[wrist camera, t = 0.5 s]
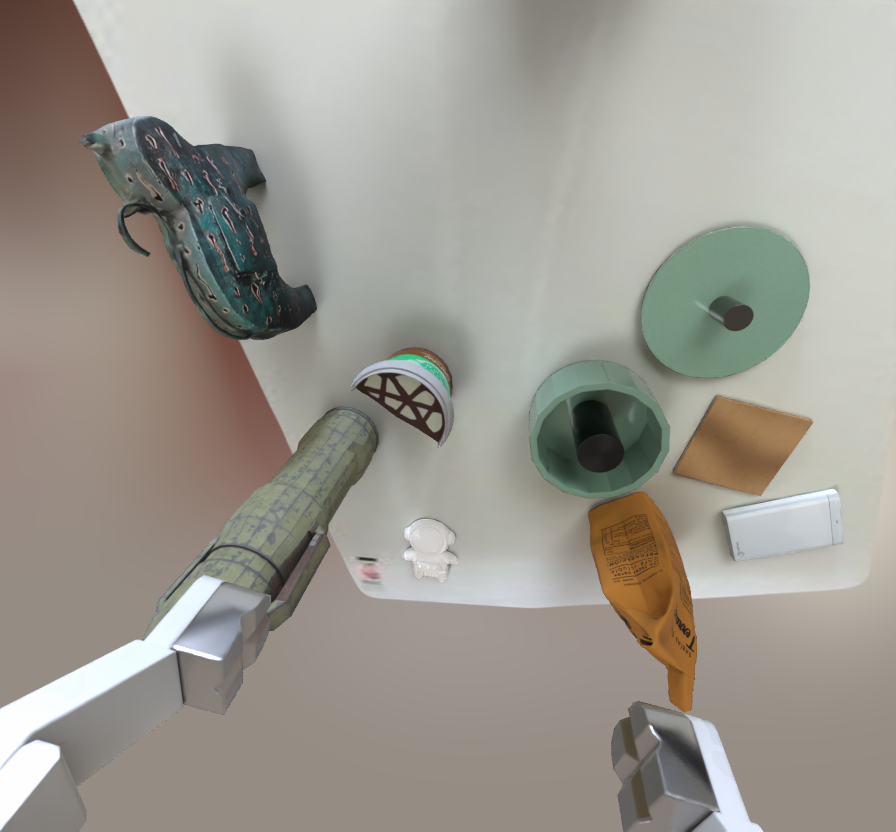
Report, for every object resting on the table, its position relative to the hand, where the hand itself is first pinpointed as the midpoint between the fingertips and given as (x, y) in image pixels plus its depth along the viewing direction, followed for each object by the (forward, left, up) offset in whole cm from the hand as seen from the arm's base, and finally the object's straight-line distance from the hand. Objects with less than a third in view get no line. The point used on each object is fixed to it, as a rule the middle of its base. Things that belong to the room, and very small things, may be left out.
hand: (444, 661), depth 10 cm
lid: (-3, +22, -44) cm, 49 cm away
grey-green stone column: (+25, -16, -45) cm, 54 cm away
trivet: (+12, +32, -44) cm, 56 cm away
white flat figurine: (+42, -1, -45) cm, 61 cm away
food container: (+12, -7, -45) cm, 47 cm away
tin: (+13, +14, -44) cm, 48 cm away
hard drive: (+21, +42, -45) cm, 65 cm away
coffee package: (+28, +25, -45) cm, 58 cm away
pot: (+13, +14, -44) cm, 48 cm away
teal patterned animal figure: (+1, -27, -45) cm, 52 cm away
